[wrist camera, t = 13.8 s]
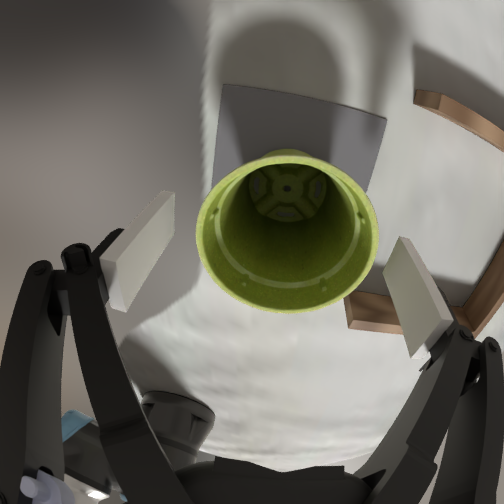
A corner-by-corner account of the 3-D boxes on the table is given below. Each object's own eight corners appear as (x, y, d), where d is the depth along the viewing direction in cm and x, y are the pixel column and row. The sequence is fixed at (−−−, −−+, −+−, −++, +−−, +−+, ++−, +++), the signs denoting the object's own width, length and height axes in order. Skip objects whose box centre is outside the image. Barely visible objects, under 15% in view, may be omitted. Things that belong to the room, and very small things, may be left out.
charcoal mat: (207, 245, 25) (207, 246, 25) (223, 84, 17) (223, 84, 17) (336, 270, 25) (337, 271, 25) (386, 119, 17) (387, 119, 17)
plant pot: (353, 130, 18) (394, 164, 11) (341, 241, 23) (359, 316, 16) (224, 126, 19) (183, 157, 12) (232, 236, 24) (207, 309, 17)
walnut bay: (343, 298, 27) (348, 328, 23) (416, 89, 15) (442, 93, 12) (463, 315, 26) (474, 339, 23) (539, 166, 15) (563, 182, 11)
